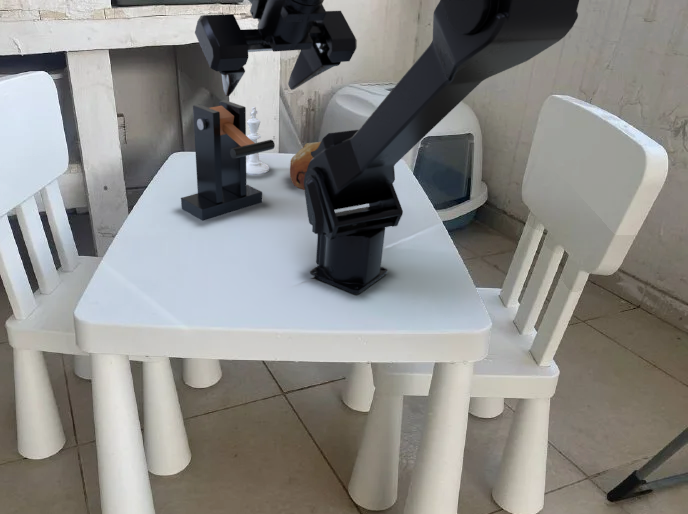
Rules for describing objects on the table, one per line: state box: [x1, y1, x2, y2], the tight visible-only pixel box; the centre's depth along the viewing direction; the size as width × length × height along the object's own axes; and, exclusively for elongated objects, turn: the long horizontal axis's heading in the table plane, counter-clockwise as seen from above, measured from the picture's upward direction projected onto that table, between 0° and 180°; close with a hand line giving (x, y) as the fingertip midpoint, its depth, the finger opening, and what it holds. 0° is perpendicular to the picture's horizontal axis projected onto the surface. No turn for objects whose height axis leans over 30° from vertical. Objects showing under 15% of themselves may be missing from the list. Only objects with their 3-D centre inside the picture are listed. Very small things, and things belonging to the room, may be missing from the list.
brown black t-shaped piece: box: [209, 105, 276, 159], centre depth 76 cm, size 9×6×2 cm, turn 41°
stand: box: [180, 99, 263, 222], centre depth 80 cm, size 5×10×14 cm, turn 131°
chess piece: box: [246, 106, 270, 175], centre depth 94 cm, size 5×5×10 cm
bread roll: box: [289, 141, 321, 191], centre depth 92 cm, size 10×10×8 cm
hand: (259, 89), depth 77 cm, fingers open, 9 cm apart
